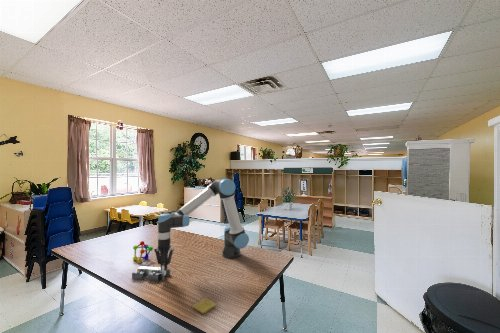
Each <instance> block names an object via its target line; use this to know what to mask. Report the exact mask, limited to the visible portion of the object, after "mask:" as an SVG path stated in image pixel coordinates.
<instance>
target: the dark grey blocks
mask: <svg viewBox="0 0 500 333" xmlns="http://www.w3.org/2000/svg"><path fill="white" fill-rule="evenodd" d="M168 276H169V277H170V276H171V268H167V270H166V275H165V276H164V274H162V273H156V272H153V273H152V272H150V273H149V274H148V278H147V281H149V282H159V281H161V282H164V281H165V277H168ZM145 279H146V278H145V272H140V271H137V269H136V270H133V272H131V280H134V281H135V280H137V281H143V280H145Z"/></svg>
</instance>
